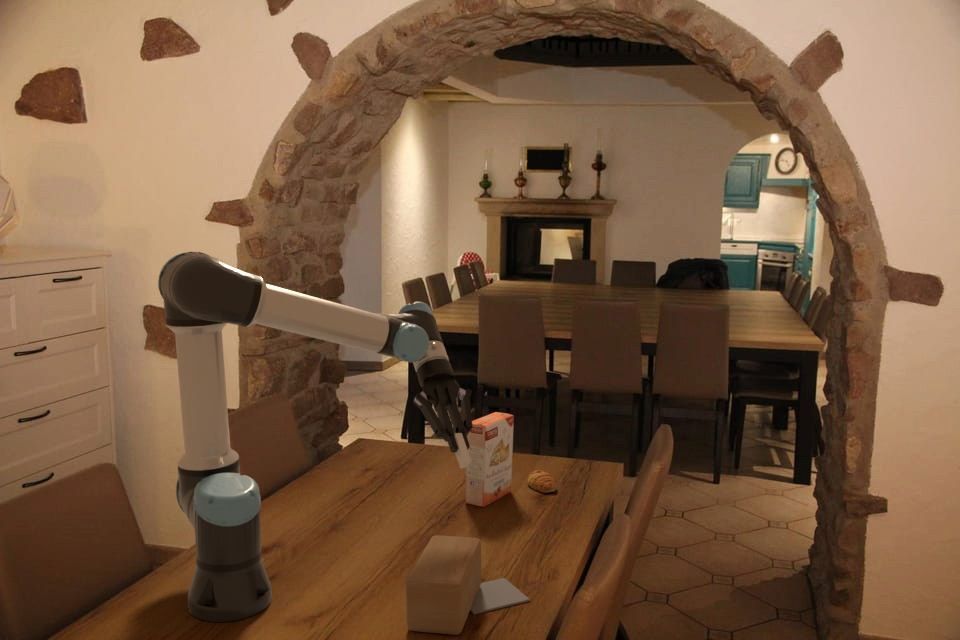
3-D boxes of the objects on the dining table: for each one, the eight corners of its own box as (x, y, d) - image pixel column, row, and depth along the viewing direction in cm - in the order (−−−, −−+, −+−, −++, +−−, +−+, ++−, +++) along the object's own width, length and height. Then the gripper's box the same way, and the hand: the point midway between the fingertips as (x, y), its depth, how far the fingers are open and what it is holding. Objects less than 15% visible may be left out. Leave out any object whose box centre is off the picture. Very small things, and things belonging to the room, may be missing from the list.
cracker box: (484, 508, 209) (486, 426, 206) (464, 503, 212) (465, 422, 209) (513, 492, 220) (514, 413, 217) (493, 487, 224) (494, 410, 220)
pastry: (563, 492, 221) (563, 478, 221) (539, 496, 219) (540, 481, 218) (546, 481, 230) (547, 467, 229) (524, 484, 227) (524, 470, 227)
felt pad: (473, 614, 156) (473, 612, 156) (450, 591, 165) (450, 589, 165) (529, 601, 162) (529, 599, 162) (504, 579, 171) (504, 577, 171)
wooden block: (482, 584, 167) (461, 637, 148) (433, 580, 169) (405, 632, 150) (481, 536, 165) (460, 583, 146) (432, 532, 167) (404, 579, 148)
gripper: (409, 358, 176) (441, 459, 163) (466, 354, 182) (501, 451, 169) (399, 378, 181) (430, 478, 169) (454, 374, 187) (488, 469, 175)
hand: (465, 464), depth 169 cm, fingers closed
